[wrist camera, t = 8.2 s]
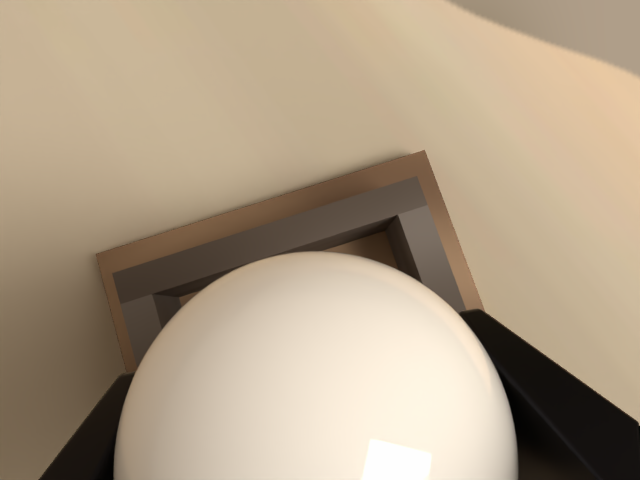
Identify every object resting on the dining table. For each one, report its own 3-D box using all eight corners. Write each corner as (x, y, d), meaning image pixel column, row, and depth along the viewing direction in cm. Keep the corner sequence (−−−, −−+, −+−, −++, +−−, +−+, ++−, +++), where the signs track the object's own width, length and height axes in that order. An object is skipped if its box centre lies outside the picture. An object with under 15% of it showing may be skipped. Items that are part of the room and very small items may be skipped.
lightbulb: (259, 258, 17) (149, 144, 6) (438, 320, 16) (674, 319, 6) (191, 445, 16) (-93, 725, 5) (380, 514, 15) (529, 977, 5)
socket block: (539, 481, 18) (602, 528, 14) (199, 604, 17) (164, 689, 13) (419, 158, 20) (444, 119, 16) (107, 257, 19) (53, 242, 15)
